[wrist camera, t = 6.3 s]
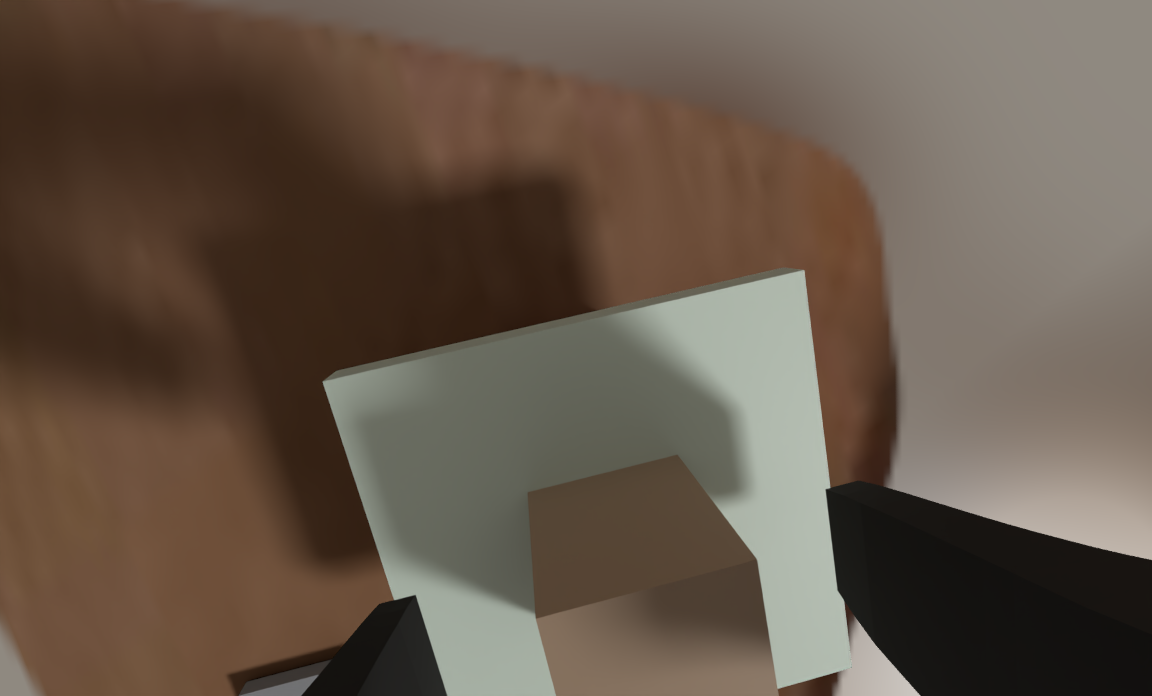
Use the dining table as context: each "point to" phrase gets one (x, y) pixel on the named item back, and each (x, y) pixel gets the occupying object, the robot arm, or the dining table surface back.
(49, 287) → the dining table surface
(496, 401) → the sage lid
